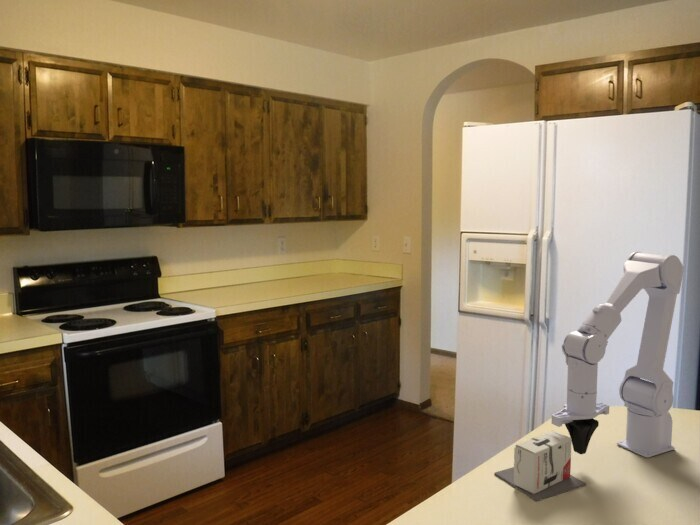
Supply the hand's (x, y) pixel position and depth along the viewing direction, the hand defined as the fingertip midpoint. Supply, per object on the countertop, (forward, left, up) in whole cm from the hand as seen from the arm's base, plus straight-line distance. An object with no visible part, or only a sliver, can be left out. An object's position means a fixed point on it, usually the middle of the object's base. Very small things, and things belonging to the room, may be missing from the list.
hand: (579, 452), depth 124 cm
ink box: (+6, 0, +1) cm, 6 cm away
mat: (+11, 0, -3) cm, 12 cm away
